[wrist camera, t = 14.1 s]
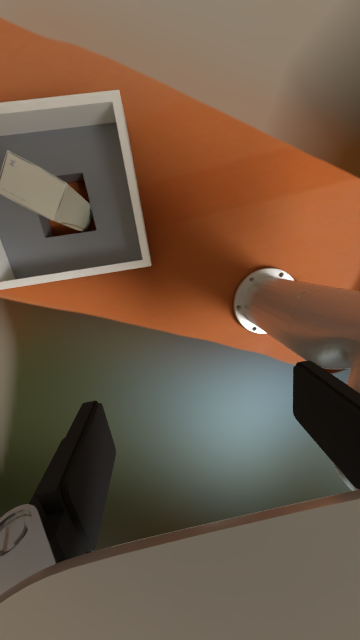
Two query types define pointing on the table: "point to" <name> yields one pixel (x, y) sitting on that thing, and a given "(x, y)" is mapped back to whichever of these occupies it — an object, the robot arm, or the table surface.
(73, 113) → the bore box
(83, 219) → the skincare box
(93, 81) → the table surface
